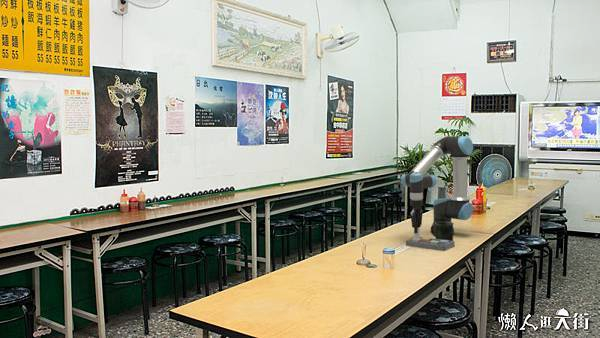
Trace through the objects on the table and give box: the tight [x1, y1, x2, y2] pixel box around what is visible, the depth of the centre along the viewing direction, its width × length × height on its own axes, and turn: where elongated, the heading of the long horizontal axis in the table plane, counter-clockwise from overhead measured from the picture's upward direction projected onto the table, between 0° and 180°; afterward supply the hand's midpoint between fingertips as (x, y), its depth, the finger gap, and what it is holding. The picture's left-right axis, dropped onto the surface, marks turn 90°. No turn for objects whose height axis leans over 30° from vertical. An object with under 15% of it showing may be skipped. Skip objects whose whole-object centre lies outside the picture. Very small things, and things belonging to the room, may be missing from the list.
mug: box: [430, 221, 455, 241], centre depth 321 cm, size 11×15×12 cm
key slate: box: [439, 240, 449, 245], centre depth 301 cm, size 4×4×2 cm
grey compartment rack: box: [405, 236, 455, 252], centre depth 307 cm, size 14×24×4 cm, turn 50°
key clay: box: [420, 236, 432, 243], centre depth 309 cm, size 4×4×2 cm
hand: (416, 238), depth 313 cm, fingers closed
